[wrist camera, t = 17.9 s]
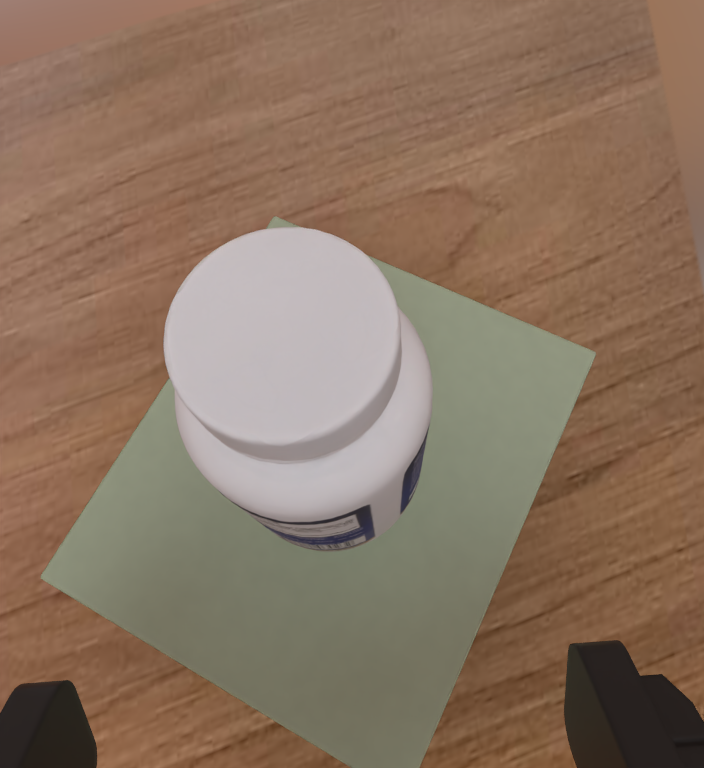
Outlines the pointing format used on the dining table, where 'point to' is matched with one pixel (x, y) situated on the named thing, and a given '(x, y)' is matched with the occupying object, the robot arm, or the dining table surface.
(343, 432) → the pill bottle
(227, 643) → the shelf
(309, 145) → the dining table surface
